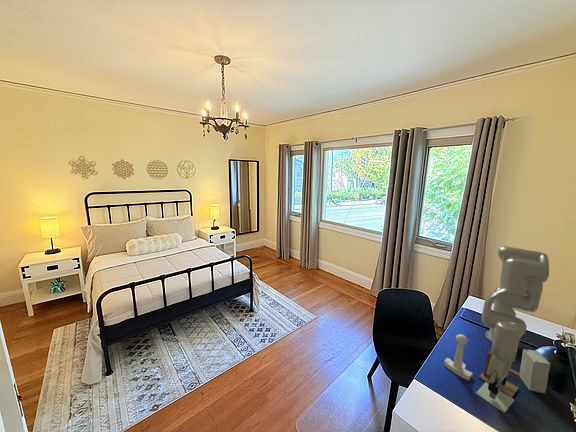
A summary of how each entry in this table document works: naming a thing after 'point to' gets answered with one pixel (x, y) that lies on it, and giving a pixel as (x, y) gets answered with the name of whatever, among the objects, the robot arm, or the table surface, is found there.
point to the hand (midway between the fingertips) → (496, 387)
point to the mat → (500, 402)
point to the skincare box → (534, 370)
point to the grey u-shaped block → (498, 390)
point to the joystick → (459, 359)
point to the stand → (509, 387)
